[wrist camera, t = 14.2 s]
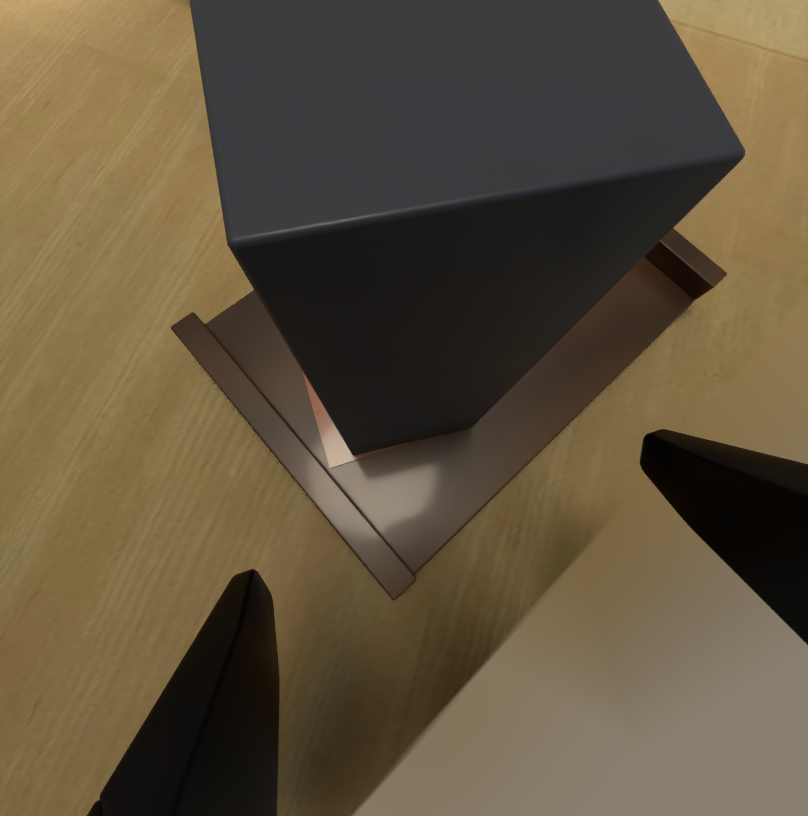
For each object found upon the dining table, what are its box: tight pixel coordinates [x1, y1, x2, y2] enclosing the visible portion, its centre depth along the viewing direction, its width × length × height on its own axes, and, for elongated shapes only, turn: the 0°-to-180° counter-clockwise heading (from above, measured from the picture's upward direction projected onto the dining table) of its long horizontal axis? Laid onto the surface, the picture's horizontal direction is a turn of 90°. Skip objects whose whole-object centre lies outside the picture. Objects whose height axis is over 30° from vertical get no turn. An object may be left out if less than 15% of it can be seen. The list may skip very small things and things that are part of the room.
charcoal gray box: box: [190, 0, 745, 455], centre depth 12 cm, size 10×6×14 cm, turn 14°
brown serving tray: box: [171, 229, 727, 601], centre depth 20 cm, size 16×22×3 cm
